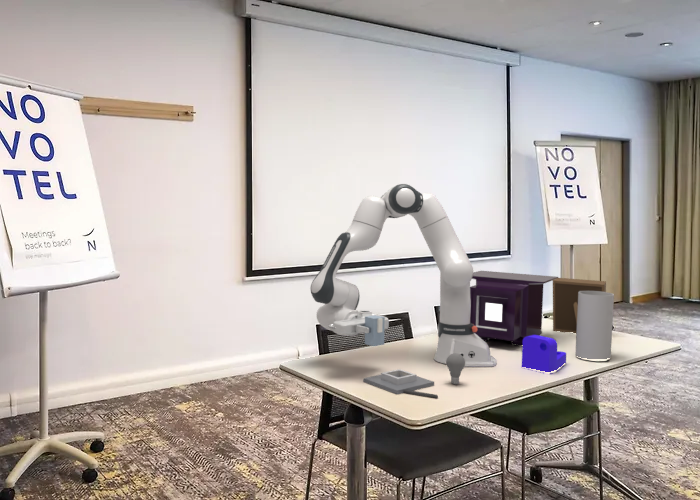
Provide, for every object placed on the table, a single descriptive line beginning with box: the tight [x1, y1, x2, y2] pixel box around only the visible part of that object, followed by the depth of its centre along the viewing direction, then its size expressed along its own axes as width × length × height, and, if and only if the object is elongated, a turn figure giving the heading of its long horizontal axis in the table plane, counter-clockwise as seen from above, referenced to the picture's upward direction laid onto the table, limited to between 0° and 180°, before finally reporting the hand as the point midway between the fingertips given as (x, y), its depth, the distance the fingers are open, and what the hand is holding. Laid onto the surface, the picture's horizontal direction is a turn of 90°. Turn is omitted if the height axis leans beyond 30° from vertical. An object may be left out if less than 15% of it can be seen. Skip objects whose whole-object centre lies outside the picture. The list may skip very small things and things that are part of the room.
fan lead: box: [403, 390, 439, 399], centre depth 187 cm, size 11×1×1 cm, turn 63°
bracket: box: [521, 335, 567, 372], centre depth 222 cm, size 18×11×12 cm, turn 130°
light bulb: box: [446, 353, 465, 385], centre depth 199 cm, size 6×6×10 cm
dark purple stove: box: [470, 270, 559, 346], centre depth 263 cm, size 35×35×27 cm
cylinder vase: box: [575, 291, 615, 359], centre depth 235 cm, size 12×12×25 cm
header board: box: [363, 368, 435, 395], centre depth 198 cm, size 16×16×3 cm
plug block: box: [364, 314, 386, 347], centre depth 201 cm, size 4×5×9 cm
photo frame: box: [552, 277, 607, 334], centre depth 276 cm, size 15×22×25 cm
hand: (376, 329), depth 201 cm, fingers closed on plug block, 4 cm apart
